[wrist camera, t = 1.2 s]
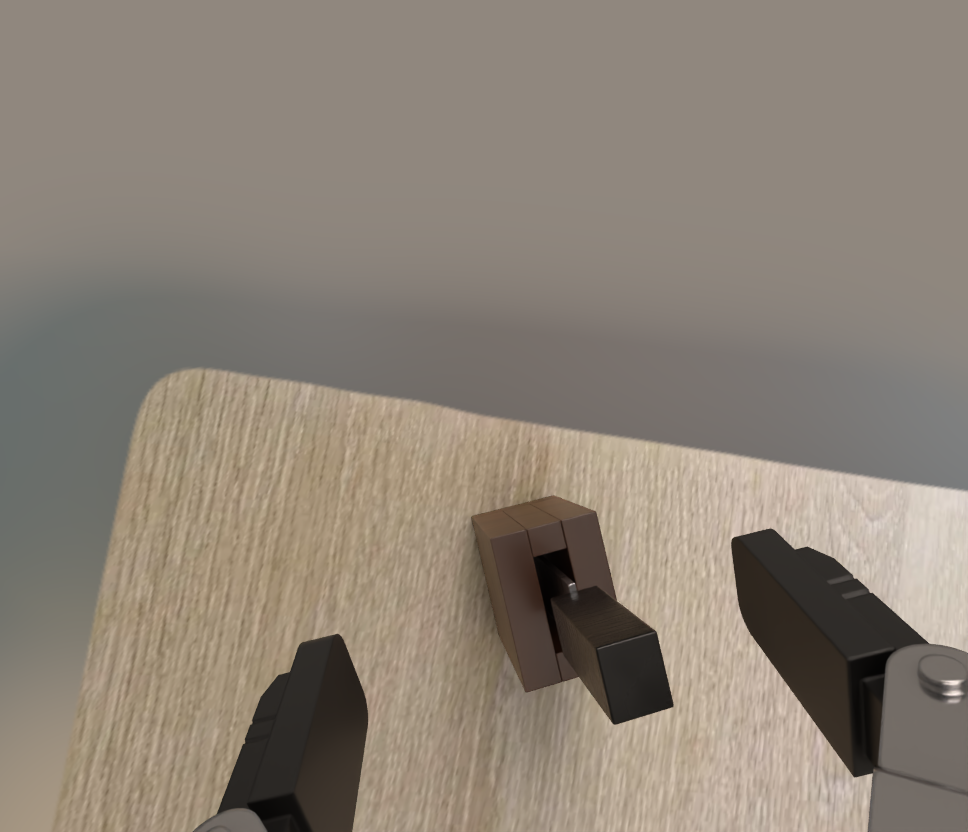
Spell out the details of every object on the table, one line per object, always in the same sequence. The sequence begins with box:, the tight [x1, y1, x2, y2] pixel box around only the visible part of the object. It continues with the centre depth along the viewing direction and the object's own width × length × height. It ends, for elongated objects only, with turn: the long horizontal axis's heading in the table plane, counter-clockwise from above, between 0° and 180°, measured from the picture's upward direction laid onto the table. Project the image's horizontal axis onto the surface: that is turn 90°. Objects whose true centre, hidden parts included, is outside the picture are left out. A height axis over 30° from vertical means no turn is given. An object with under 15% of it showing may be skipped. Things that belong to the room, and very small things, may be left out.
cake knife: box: [533, 555, 674, 725], centre depth 27 cm, size 2×3×16 cm, turn 13°
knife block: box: [471, 495, 617, 692], centre depth 32 cm, size 5×7×8 cm
